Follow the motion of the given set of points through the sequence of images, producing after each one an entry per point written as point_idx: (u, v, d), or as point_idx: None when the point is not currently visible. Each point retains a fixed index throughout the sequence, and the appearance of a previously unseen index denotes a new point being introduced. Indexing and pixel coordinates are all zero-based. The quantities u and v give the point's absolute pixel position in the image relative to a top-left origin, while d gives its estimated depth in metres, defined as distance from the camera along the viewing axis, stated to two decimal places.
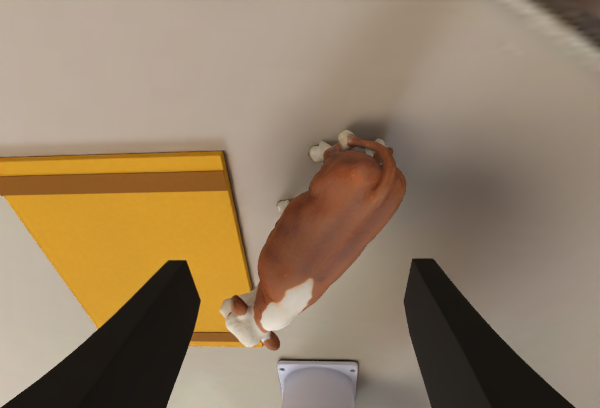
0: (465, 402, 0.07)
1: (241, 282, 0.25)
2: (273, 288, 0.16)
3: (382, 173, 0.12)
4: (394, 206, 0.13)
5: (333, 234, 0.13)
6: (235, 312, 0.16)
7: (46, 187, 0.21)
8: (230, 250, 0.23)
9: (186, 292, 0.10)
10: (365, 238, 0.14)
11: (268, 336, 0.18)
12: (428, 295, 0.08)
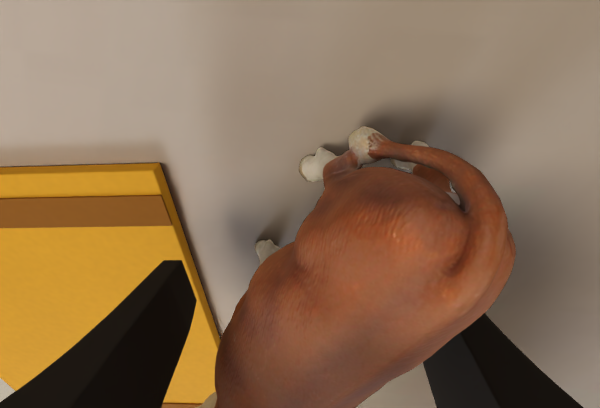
0: (472, 402, 0.07)
1: (207, 347, 0.18)
2: None
3: (470, 228, 0.05)
4: (492, 301, 0.05)
5: (347, 359, 0.06)
6: None
7: None
8: None
9: (181, 292, 0.10)
10: (419, 362, 0.06)
11: None
12: None
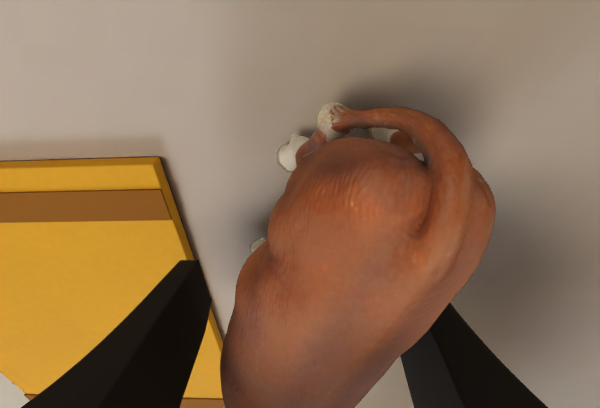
0: (442, 402, 0.07)
1: (207, 342, 0.18)
2: None
3: (433, 183, 0.04)
4: (476, 260, 0.05)
5: (333, 347, 0.06)
6: None
7: None
8: None
9: (198, 292, 0.10)
10: (413, 339, 0.06)
11: None
12: None
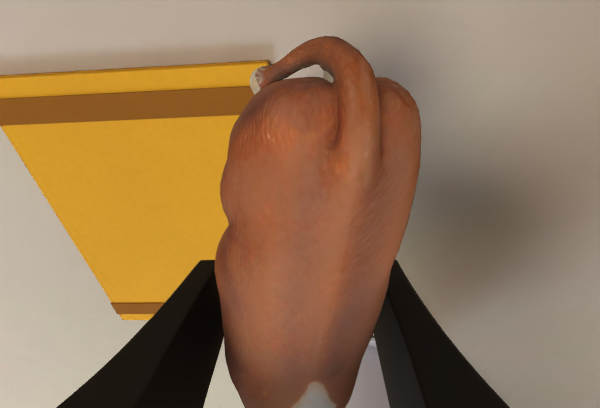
0: (410, 401, 0.07)
1: None
2: None
3: (338, 93, 0.04)
4: (411, 163, 0.05)
5: (303, 290, 0.06)
6: None
7: (52, 112, 0.17)
8: None
9: None
10: (381, 263, 0.06)
11: None
12: None
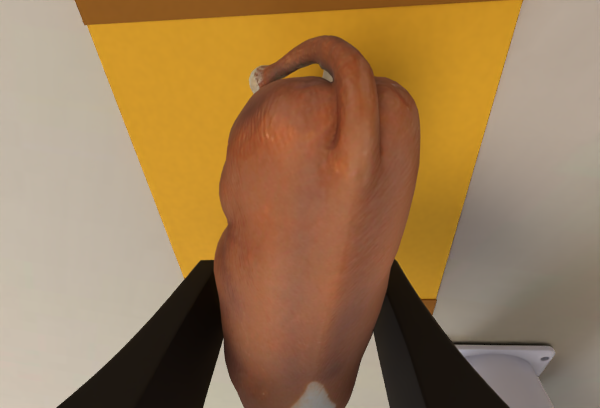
0: (410, 401, 0.07)
1: (450, 209, 0.16)
2: None
3: (336, 91, 0.04)
4: (410, 162, 0.05)
5: (302, 290, 0.05)
6: None
7: (174, 0, 0.11)
8: (463, 144, 0.14)
9: None
10: (380, 263, 0.06)
11: None
12: (385, 295, 0.09)
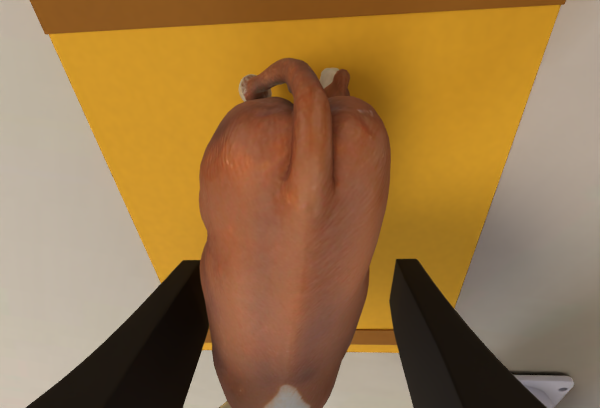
0: (441, 401, 0.07)
1: (466, 238, 0.14)
2: None
3: (293, 122, 0.04)
4: (371, 190, 0.05)
5: (267, 304, 0.06)
6: None
7: (148, 5, 0.09)
8: (483, 168, 0.12)
9: (201, 292, 0.10)
10: (346, 283, 0.06)
11: None
12: (410, 295, 0.08)
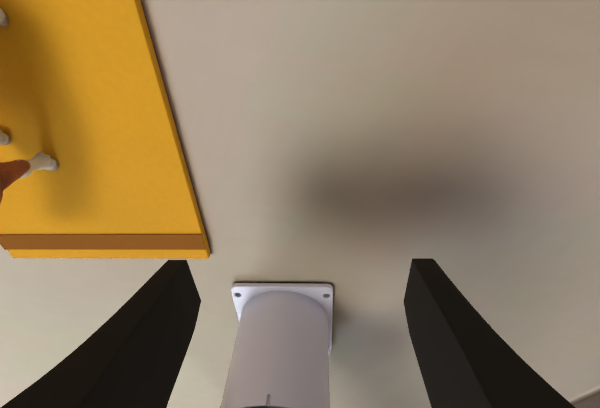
0: (465, 402, 0.07)
1: (166, 143, 0.18)
2: None
3: None
4: None
5: None
6: None
7: None
8: (142, 81, 0.16)
9: (186, 292, 0.10)
10: None
11: None
12: (429, 295, 0.08)
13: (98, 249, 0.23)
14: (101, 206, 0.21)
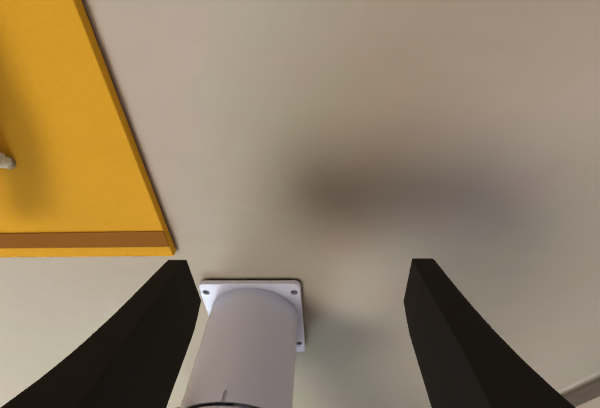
0: (465, 402, 0.07)
1: (119, 140, 0.18)
2: None
3: None
4: None
5: None
6: None
7: None
8: (89, 77, 0.16)
9: (186, 292, 0.10)
10: None
11: None
12: (428, 295, 0.08)
13: (63, 247, 0.23)
14: (61, 204, 0.21)
